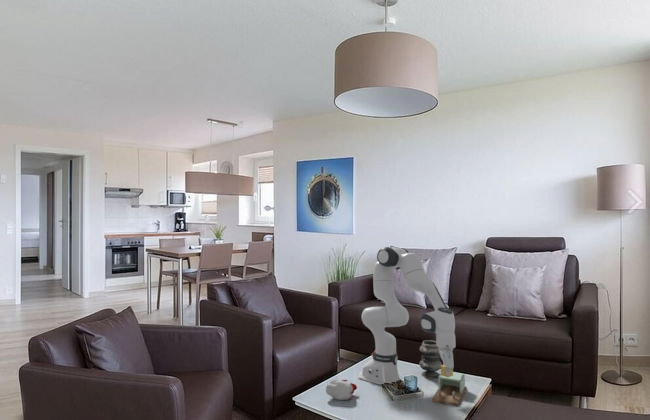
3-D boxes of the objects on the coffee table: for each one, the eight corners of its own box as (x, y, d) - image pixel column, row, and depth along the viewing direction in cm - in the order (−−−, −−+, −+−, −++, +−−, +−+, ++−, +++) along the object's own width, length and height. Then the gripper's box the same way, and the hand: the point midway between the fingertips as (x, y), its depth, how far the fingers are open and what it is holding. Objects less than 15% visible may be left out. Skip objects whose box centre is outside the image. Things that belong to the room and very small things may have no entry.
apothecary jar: (428, 380, 225) (427, 346, 225) (415, 373, 236) (414, 340, 236) (446, 376, 229) (446, 343, 229) (433, 369, 240) (432, 338, 241)
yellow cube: (440, 375, 201) (440, 365, 201) (445, 373, 204) (445, 363, 204) (448, 377, 198) (447, 367, 198) (453, 375, 200) (452, 365, 201)
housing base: (431, 401, 199) (431, 392, 199) (442, 384, 218) (442, 376, 219) (457, 406, 193) (457, 397, 193) (466, 388, 213) (466, 380, 213)
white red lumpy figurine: (324, 398, 203) (345, 393, 214) (341, 405, 195) (362, 399, 206) (325, 379, 204) (346, 374, 215) (342, 385, 196) (363, 380, 207)
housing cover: (438, 389, 209) (438, 376, 209) (442, 383, 217) (442, 370, 217) (461, 393, 204) (461, 380, 204) (464, 386, 212) (464, 374, 212)
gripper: (456, 349, 191) (457, 380, 190) (449, 337, 211) (450, 365, 210) (442, 349, 191) (443, 379, 191) (436, 336, 212) (437, 364, 211)
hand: (446, 371), depth 201 cm, fingers closed on yellow cube, 6 cm apart
